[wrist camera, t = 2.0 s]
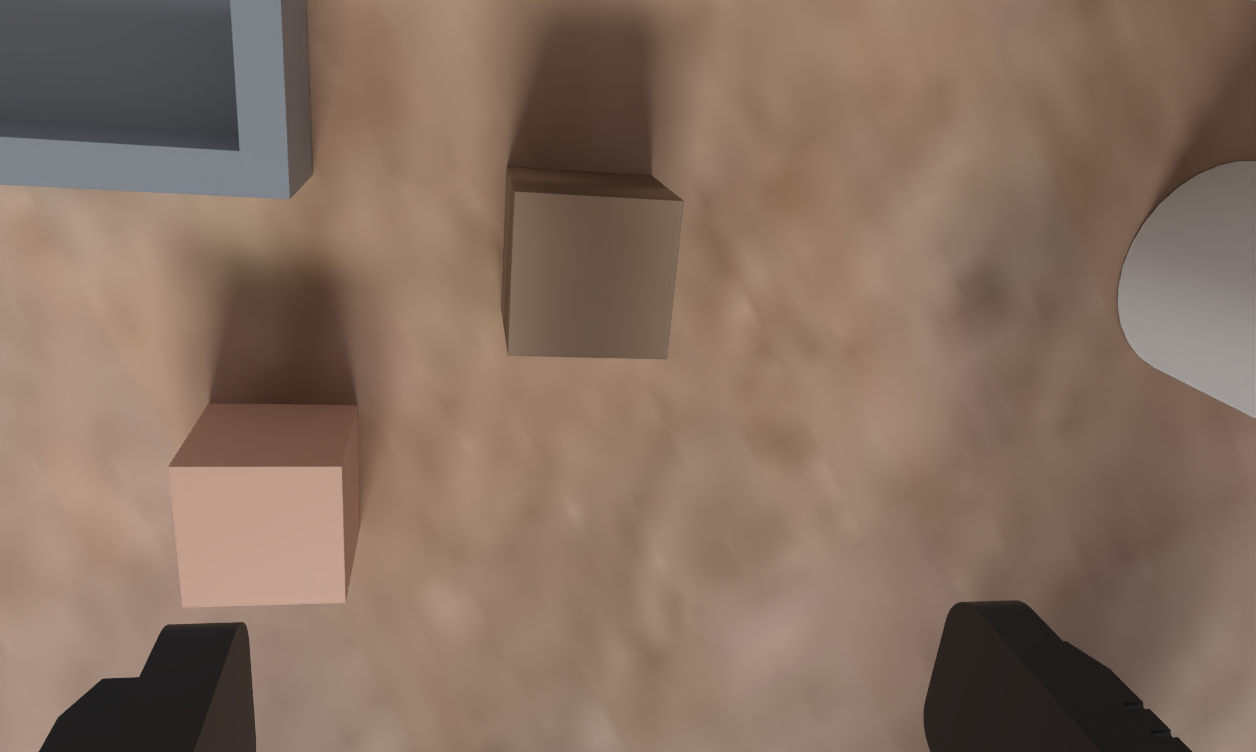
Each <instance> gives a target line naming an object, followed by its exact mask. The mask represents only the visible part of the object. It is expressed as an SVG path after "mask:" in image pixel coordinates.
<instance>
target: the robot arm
mask: <svg viewBox="0 0 1256 752" xmlns="http://www.w3.org/2000/svg"><path fill="white" fill-rule="evenodd" d="M924 729H925V735H926V739H927V743H928V746H929V749H930V751H931V752H1192V751H1191V750H1190V749H1189V748H1188V747H1187V746H1186V745H1185V744H1184V743H1183V742H1182V741H1181V740H1180V739H1179V738H1178V737H1175V738H1173V737H1172V736H1171V733H1170V731H1171V730H1170V729H1169V728H1168V727H1167V726H1166V725H1165V724H1164V723H1163V722H1162V721H1161V720H1160V719H1159V718H1158V717H1157V716H1156V715H1155V714H1154V713H1153V712H1152V711H1151V710H1150V709H1144V707H1143V702H1142V701H1141V700H1140V699H1139V698H1138V697H1137V696H1136V695H1135V694H1134V693H1133V692H1132V691H1131V690H1130V689H1129V688H1128V687H1127V686H1126V685H1125V684H1124V683H1123V682H1122V681H1121V680H1120V679H1119V678H1118V677H1117V676H1116V675H1115V674H1114V673H1113V672H1112V671H1111V670H1110V669H1109V668H1107V667H1106V666H1104V665H1103V664H1101V663H1099V662H1098V661H1096V660H1095V659H1093V658H1092V657H1090V656H1088V655H1087V654H1085V653H1084V652H1082V651H1081V650H1079V649H1077V648H1076V647H1074V646H1073V645H1071V644H1070V643H1068V642H1063V641H1062V640H1061V639H1060V638H1059V637H1058V636H1057V635H1056V634H1055V633H1054V632H1053V631H1052V629H1051V628H1050V627H1049V626H1048V625H1047V624H1046V623H1045V622H1044V621H1043V620H1042V619H1041V618H1040V617H1039V616H1038V615H1037V614H1036V613H1035V612H1034V611H1033V610H1032V609H1031V608H1030V607H1029V606H1028V605H1027V604H1025V603H1023V602H1021V601H982V602H960V603H957V604H955V605H954V606H953V607H952V608H951V609H950V611H949V613H948V615H947V618H946V622H945V626H944V630H943V634H942V637H941V641H940V645H939V649H938V653H937V657H936V661H935V665H934V669H933V673H932V677H931V681H930V685H929V688H928V692H927V696H926V700H925V705H924ZM39 752H256V733H255V718H254V704H253V690H252V676H251V661H250V647H249V636H248V630H247V627H246V625H245V623H244V622H236V623H203V624H170V625H166V626H165V627H164V628H163V629H162V631H161V633H160V634H159V636H158V638H157V641H156V643H155V645H154V647H153V649H152V651H151V653H150V655H149V658H148V660H147V662H146V664H145V666H144V668H143V670H142V672H141V674H140V677H135V678H110V679H102V680H101V681H99V682H98V683H97V684H96V685H95V686H94V687H93V688H91V689H90V690H89V691H88V692H87V693H86V694H85V695H83V696H82V697H81V698H80V699H79V700H78V701H76V702H75V703H74V704H73V705H72V706H71V707H70V708H68V709H67V710H66V711H65V712H64V713H63V714H62V715H60V716H59V717H58V719H57V720H56V722H55V724H54V726H53V727H52V729H51V731H50V733H49V735H48V736H47V738H46V740H45V742H44V744H43V745H42V747H41V749H40V751H39Z"/></svg>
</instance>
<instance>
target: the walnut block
mask: <svg viewBox="0 0 1256 752" xmlns="http://www.w3.org/2000/svg"><path fill="white" fill-rule="evenodd" d="M683 203H684V201H683V200H682V199H680V198H679V197H678V196H677V195H675V194H674V193H673V192H672V191H670V190H669V189H668V188H667V187H665V186H664V185H663V184H662V183H660V182H659V181H658V180H657V179H655V178H654V177H653V176H649V175H632V174H616V173H600V172H583V171H567V170H551V169H535V168H518V167H507V172H506V198H505V225H504V251H503V277H502V303H501V311H502V318H503V325H504V332H505V338H506V345H507V352H508V356H545V357H588V358H632V359H667V355H668V345H669V336H670V326H671V317H672V307H673V298H674V288H675V279H676V269H677V260H678V251H679V241H680V232H681V222H682V213H683Z"/></svg>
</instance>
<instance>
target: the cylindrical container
mask: <svg viewBox="0 0 1256 752" xmlns="http://www.w3.org/2000/svg"><path fill="white" fill-rule="evenodd" d="M1118 311H1119V318H1120V324H1121V327H1122V329H1123V332H1124V334H1125V337H1126V339H1127V342H1128V343H1129V344H1130V346H1131V347H1132V348H1133V350H1134V351H1135V353H1136V354H1137V355H1138V356H1139V357H1140V358H1141V359H1143V360H1144V361H1145V362H1147V363H1148V364H1149V365H1150V366H1152V367H1154V368H1156V369H1158V370H1160V371H1162V372H1164V373H1166V374H1168V375H1170V376H1172V377H1174V378H1176V379H1178V380H1180V381H1182V382H1184V383H1186V384H1188V385H1190V386H1192V387H1194V388H1196V389H1198V390H1200V391H1202V392H1204V393H1206V394H1207V395H1209V396H1211V397H1213V398H1215V399H1217V400H1219V401H1221V402H1223V403H1225V404H1227V405H1229V406H1231V407H1233V408H1235V409H1237V410H1239V411H1241V412H1243V413H1245V414H1247V415H1249V416H1251V417H1253V418H1255V419H1256V161H1237V162H1232V163H1228V164H1223V165H1219V166H1216V167H1214V168H1212V169H1209V170H1207V171H1204V172H1202V173H1200V174H1198V175H1196V176H1195V177H1193V178H1191V179H1190V180H1188V181H1187V182H1185V183H1184V184H1182V185H1181V186H1179V187H1178V188H1176V189H1175V190H1174V191H1173V192H1172V193H1171V194H1170V195H1169V196H1168V197H1167V198H1165V199H1164V200H1163V201H1162V202H1161V203H1160V204H1159V205H1158V206H1157V207H1156V209H1155V210H1154V211H1153V212H1152V214H1151V215H1150V216H1149V217H1148V219H1147V220H1146V221H1145V222H1144V224H1143V225H1142V227H1141V229H1140V230H1139V232H1138V234H1137V235H1136V237H1135V239H1134V241H1133V242H1132V244H1131V246H1130V249H1129V251H1128V254H1127V257H1126V259H1125V262H1124V264H1123V267H1122V272H1121V277H1120V281H1119V286H1118Z"/></svg>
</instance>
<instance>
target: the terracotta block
mask: <svg viewBox="0 0 1256 752" xmlns="http://www.w3.org/2000/svg"><path fill="white" fill-rule="evenodd" d="M168 471H169V480H170V490H171V500H172V510H173V519H174V529H175V539H176V549H177V559H178V568H179V578H180V588H181V598H182V607H217V606H253V605H288V604H323V603H346V598H347V592H348V587H349V582H350V577H351V571H352V566H353V561H354V556H355V550H356V545H357V540H358V534H359V529H360V504H359V454H358V405H313V404H229V403H209V404H208V405H207V407H206V409H205V410H204V412H203V413H202V415H201V416H200V418H199V419H198V421H197V423H196V424H195V426H194V427H193V429H192V430H191V432H190V434H189V435H188V437H187V438H186V440H185V441H184V443H183V444H182V446H181V448H180V449H179V451H178V452H177V454H176V455H175V457H174V459H173V460H172V462H171V463H170V465H169V466H168Z"/></svg>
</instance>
